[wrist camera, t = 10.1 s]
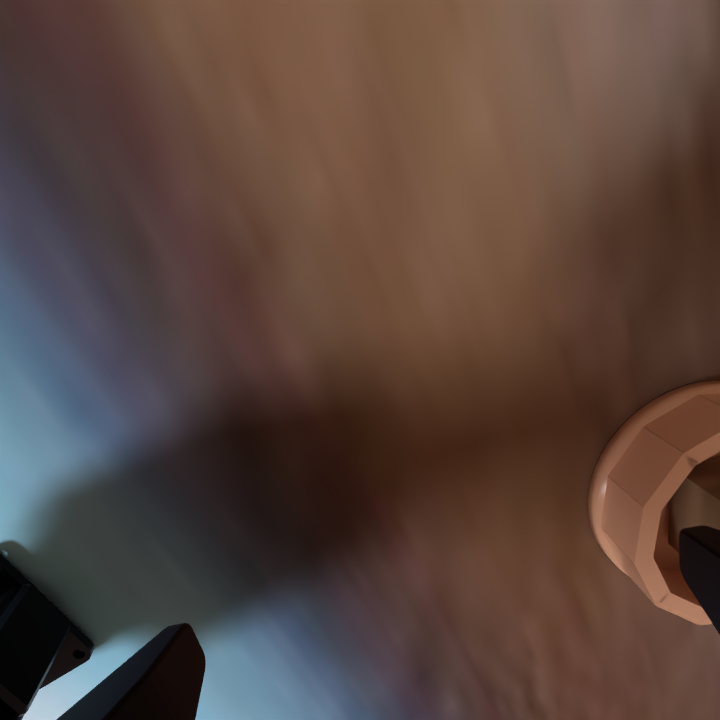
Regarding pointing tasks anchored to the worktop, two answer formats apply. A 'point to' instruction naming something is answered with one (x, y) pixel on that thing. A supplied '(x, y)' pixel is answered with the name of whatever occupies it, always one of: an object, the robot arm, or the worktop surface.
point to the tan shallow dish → (654, 490)
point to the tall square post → (696, 500)
